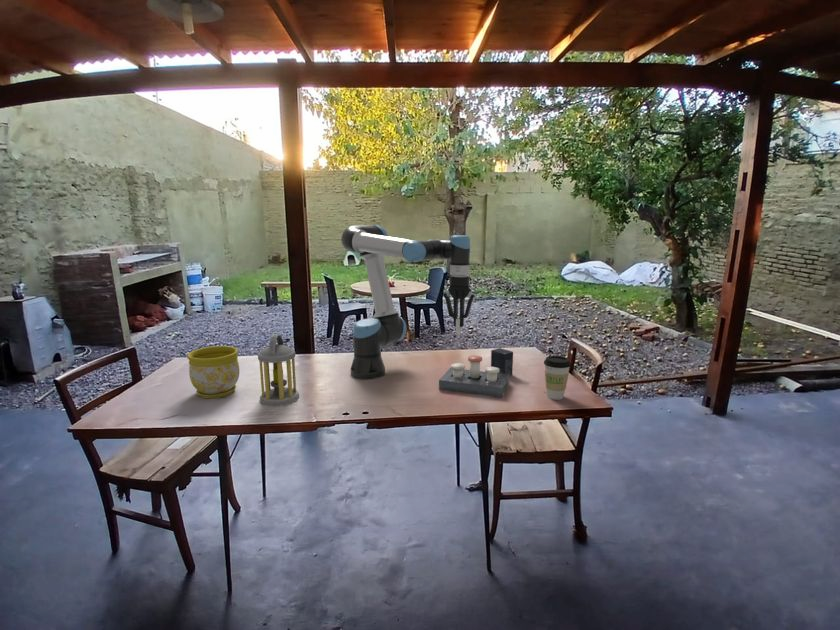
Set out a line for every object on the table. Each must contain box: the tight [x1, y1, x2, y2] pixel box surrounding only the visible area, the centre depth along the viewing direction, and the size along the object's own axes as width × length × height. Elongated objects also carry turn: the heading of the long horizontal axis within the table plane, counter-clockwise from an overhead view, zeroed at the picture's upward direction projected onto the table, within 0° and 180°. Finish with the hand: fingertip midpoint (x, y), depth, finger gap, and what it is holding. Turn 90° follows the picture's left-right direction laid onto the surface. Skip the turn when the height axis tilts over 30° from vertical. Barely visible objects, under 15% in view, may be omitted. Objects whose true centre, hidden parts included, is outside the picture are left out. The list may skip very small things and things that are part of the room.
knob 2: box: [484, 366, 499, 382], centre depth 188 cm, size 6×6×8 cm
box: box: [490, 347, 514, 377], centre depth 205 cm, size 8×6×11 cm
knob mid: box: [467, 355, 483, 378], centre depth 189 cm, size 6×6×8 cm
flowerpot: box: [186, 345, 240, 399], centre depth 183 cm, size 18×18×16 cm
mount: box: [438, 367, 510, 398], centre depth 191 cm, size 25×16×4 cm, turn 70°
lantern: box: [257, 333, 300, 407], centre depth 176 cm, size 14×14×25 cm
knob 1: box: [450, 362, 466, 378], centre depth 193 cm, size 6×6×8 cm
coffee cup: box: [543, 355, 572, 401], centre depth 179 cm, size 10×10×15 cm
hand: (458, 334), depth 189 cm, fingers closed
